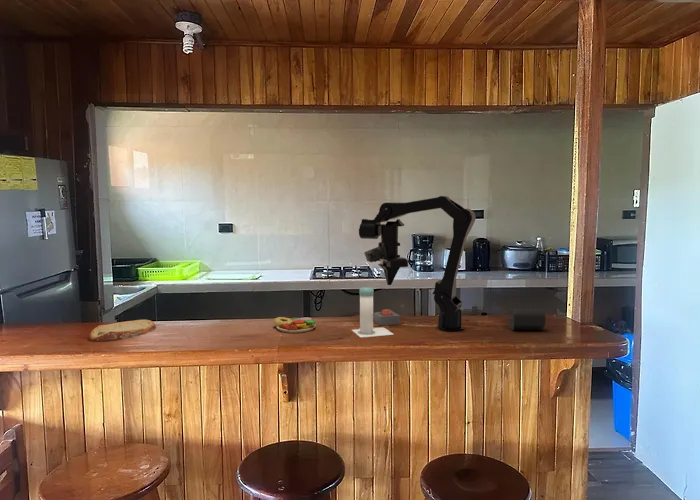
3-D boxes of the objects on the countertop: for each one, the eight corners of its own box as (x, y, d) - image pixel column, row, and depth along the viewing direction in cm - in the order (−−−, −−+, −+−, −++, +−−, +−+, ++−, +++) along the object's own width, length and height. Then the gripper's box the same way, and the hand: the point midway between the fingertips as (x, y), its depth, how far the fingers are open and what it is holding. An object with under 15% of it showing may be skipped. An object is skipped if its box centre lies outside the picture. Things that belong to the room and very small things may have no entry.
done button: (388, 320, 172) (388, 309, 172) (392, 322, 169) (392, 310, 169) (380, 321, 171) (380, 309, 171) (383, 323, 169) (383, 311, 168)
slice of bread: (158, 325, 168) (157, 314, 168) (149, 339, 151) (148, 327, 151) (100, 328, 164) (100, 317, 164) (84, 344, 147) (84, 331, 146)
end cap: (514, 332, 158) (514, 311, 157) (507, 326, 165) (507, 306, 164) (545, 332, 158) (546, 311, 157) (537, 326, 165) (537, 306, 164)
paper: (383, 327, 163) (383, 326, 163) (393, 334, 155) (393, 333, 155) (351, 330, 160) (351, 329, 160) (360, 337, 152) (360, 336, 152)
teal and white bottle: (370, 329, 160) (370, 286, 158) (375, 333, 155) (375, 289, 154) (357, 330, 158) (357, 287, 157) (362, 334, 154) (362, 289, 153)
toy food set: (270, 326, 166) (270, 317, 166) (307, 322, 172) (307, 313, 172) (284, 336, 155) (284, 326, 154) (322, 331, 161) (322, 321, 160)
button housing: (392, 319, 175) (392, 311, 175) (399, 324, 168) (399, 315, 168) (373, 320, 173) (373, 312, 173) (380, 325, 166) (380, 316, 166)
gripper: (358, 238, 175) (358, 281, 176) (376, 242, 157) (376, 291, 158) (388, 237, 178) (387, 280, 179) (409, 241, 160) (408, 289, 162)
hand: (389, 285), depth 170 cm, fingers closed
